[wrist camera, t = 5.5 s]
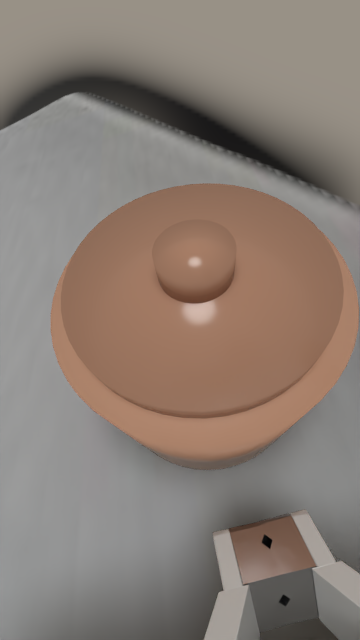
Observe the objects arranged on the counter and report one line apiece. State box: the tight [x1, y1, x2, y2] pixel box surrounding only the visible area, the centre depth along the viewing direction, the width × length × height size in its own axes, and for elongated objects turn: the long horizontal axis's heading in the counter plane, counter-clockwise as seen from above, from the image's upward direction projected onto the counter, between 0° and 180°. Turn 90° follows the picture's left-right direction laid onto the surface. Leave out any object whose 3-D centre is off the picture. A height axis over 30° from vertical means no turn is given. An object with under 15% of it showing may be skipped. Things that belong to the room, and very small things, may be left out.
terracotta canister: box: [51, 184, 359, 470], centre depth 13 cm, size 10×10×10 cm
